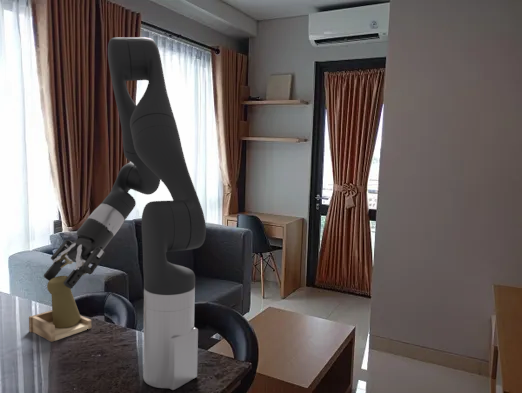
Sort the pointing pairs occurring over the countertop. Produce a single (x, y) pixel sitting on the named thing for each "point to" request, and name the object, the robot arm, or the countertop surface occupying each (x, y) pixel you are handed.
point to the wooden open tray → (47, 330)
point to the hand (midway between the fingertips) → (56, 282)
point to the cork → (62, 303)
